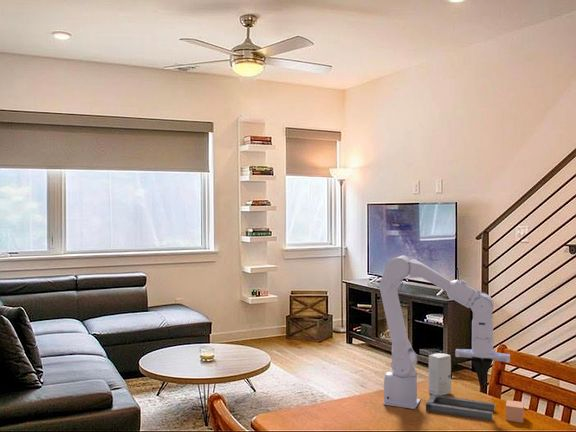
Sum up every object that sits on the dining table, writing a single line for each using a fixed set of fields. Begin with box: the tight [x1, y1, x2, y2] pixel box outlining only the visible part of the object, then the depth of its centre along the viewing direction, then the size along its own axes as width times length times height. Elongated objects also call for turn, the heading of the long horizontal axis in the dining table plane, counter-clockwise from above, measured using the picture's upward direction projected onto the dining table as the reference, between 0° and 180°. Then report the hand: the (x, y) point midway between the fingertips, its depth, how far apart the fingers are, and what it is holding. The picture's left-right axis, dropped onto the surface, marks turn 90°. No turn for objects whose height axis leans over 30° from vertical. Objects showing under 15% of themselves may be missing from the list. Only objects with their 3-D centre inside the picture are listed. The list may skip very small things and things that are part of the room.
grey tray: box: [425, 394, 496, 422], centre depth 158 cm, size 18×9×2 cm, turn 65°
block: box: [505, 399, 525, 424], centre depth 152 cm, size 4×5×4 cm
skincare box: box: [428, 352, 452, 396], centre depth 173 cm, size 6×4×12 cm
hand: (482, 384), depth 155 cm, fingers closed
